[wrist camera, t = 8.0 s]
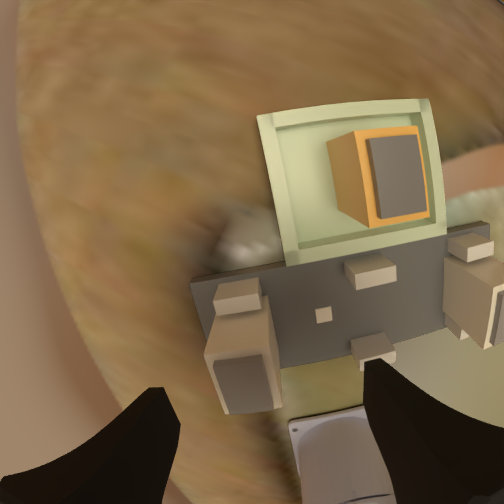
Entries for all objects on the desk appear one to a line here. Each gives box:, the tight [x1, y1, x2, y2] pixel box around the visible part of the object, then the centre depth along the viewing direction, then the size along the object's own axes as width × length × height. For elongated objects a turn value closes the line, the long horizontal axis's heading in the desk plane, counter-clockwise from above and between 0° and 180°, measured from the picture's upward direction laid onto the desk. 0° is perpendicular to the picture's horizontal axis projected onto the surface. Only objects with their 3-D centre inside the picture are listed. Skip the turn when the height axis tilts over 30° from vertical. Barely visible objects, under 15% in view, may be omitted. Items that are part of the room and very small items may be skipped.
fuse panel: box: [189, 221, 504, 415], centre depth 16 cm, size 7×21×7 cm, turn 102°
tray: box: [256, 99, 447, 267], centre depth 16 cm, size 8×10×2 cm
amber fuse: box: [326, 126, 430, 228], centre depth 14 cm, size 4×3×6 cm
